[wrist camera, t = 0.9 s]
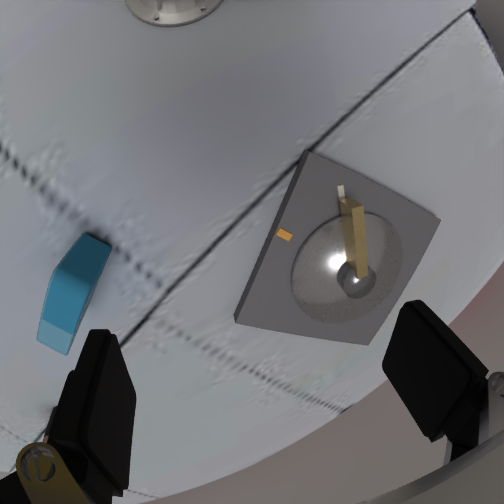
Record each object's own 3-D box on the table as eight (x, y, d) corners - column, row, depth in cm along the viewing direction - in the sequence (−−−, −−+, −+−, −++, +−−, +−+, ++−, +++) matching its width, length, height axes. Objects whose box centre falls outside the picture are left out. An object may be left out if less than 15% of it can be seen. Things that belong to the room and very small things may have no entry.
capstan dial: (397, 298, 48) (411, 313, 44) (300, 333, 47) (309, 352, 43) (397, 182, 38) (416, 191, 34) (275, 214, 38) (285, 227, 34)
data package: (88, 306, 41) (65, 361, 31) (63, 293, 40) (34, 345, 29) (114, 243, 38) (88, 292, 27) (86, 228, 36) (51, 272, 26)
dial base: (304, 149, 37) (310, 151, 35) (433, 215, 45) (442, 220, 43) (233, 315, 46) (235, 324, 44) (363, 338, 54) (368, 346, 52)
